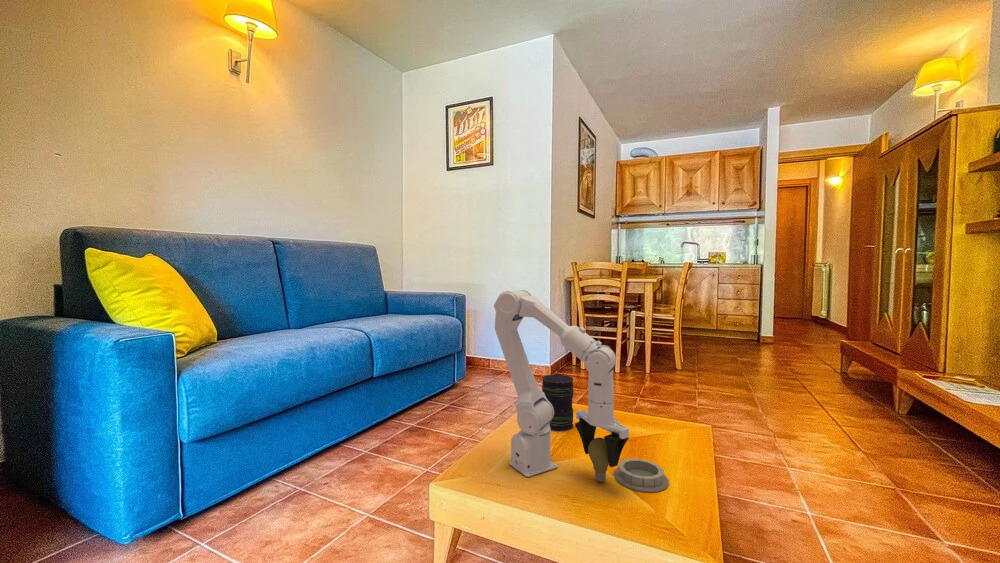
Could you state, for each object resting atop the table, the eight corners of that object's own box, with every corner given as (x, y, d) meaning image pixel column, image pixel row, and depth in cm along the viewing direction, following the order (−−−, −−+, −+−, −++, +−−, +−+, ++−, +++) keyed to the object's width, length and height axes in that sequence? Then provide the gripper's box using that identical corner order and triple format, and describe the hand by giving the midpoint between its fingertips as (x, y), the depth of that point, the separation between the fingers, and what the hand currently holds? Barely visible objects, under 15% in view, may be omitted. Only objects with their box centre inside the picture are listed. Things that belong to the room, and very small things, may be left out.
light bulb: (595, 489, 88) (595, 444, 88) (583, 477, 94) (583, 435, 94) (617, 486, 90) (618, 441, 90) (604, 474, 95) (604, 432, 95)
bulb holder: (645, 498, 85) (645, 486, 85) (603, 474, 95) (603, 464, 95) (679, 483, 91) (679, 472, 91) (636, 462, 102) (637, 452, 102)
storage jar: (569, 419, 132) (569, 374, 131) (576, 431, 122) (577, 382, 122) (539, 420, 131) (539, 374, 131) (544, 431, 121) (544, 382, 121)
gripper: (638, 405, 88) (638, 467, 88) (590, 389, 100) (590, 443, 100) (615, 411, 84) (615, 475, 84) (569, 394, 96) (569, 450, 96)
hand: (600, 459), depth 92 cm, fingers open, 7 cm apart
